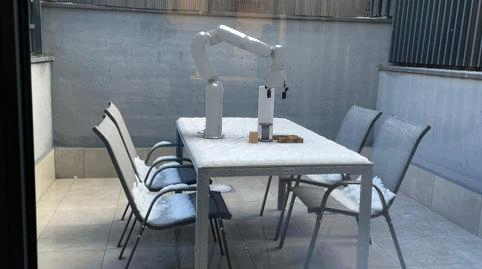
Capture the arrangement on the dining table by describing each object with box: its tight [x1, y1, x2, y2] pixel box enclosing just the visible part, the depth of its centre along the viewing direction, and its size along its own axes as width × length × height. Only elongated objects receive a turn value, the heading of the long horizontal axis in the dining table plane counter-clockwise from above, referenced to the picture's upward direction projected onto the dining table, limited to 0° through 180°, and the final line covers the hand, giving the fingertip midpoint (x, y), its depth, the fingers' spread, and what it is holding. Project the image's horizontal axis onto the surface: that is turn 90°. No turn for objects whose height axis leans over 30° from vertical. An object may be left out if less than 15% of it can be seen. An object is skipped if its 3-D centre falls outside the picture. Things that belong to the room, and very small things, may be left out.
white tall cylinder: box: [257, 85, 276, 137], centre depth 275 cm, size 9×9×30 cm
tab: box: [248, 130, 259, 144], centre depth 247 cm, size 4×4×6 cm
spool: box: [258, 122, 274, 143], centre depth 254 cm, size 9×9×10 cm
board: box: [271, 134, 305, 144], centre depth 257 cm, size 14×14×2 cm
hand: (276, 98), depth 258 cm, fingers open, 9 cm apart
